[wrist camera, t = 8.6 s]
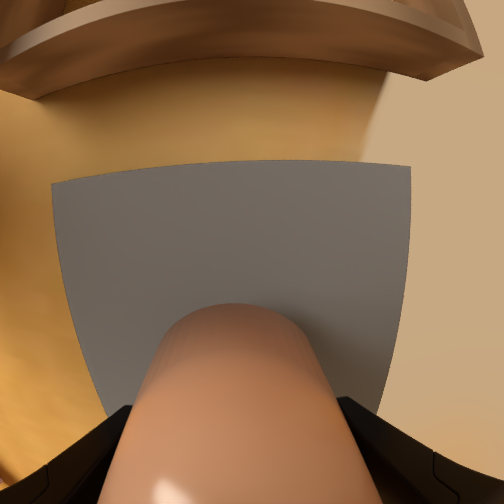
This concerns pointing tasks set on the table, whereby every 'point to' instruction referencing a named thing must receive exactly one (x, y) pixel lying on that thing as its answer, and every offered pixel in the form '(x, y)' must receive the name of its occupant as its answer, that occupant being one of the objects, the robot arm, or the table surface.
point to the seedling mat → (237, 261)
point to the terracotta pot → (236, 420)
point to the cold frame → (226, 36)
